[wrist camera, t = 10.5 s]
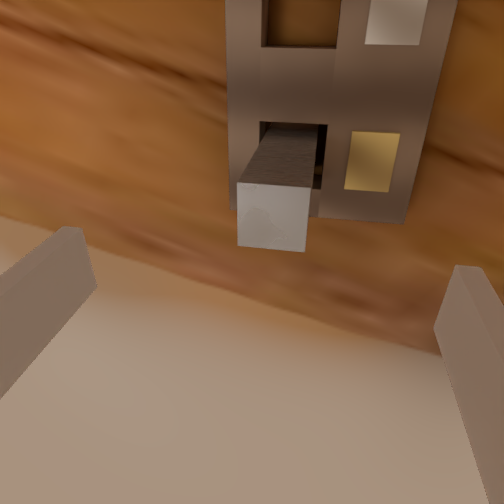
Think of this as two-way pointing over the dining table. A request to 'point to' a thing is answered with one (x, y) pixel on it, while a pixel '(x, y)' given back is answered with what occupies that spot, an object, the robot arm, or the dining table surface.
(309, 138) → the plug
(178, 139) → the dining table surface
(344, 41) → the socket board
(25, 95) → the dining table surface
